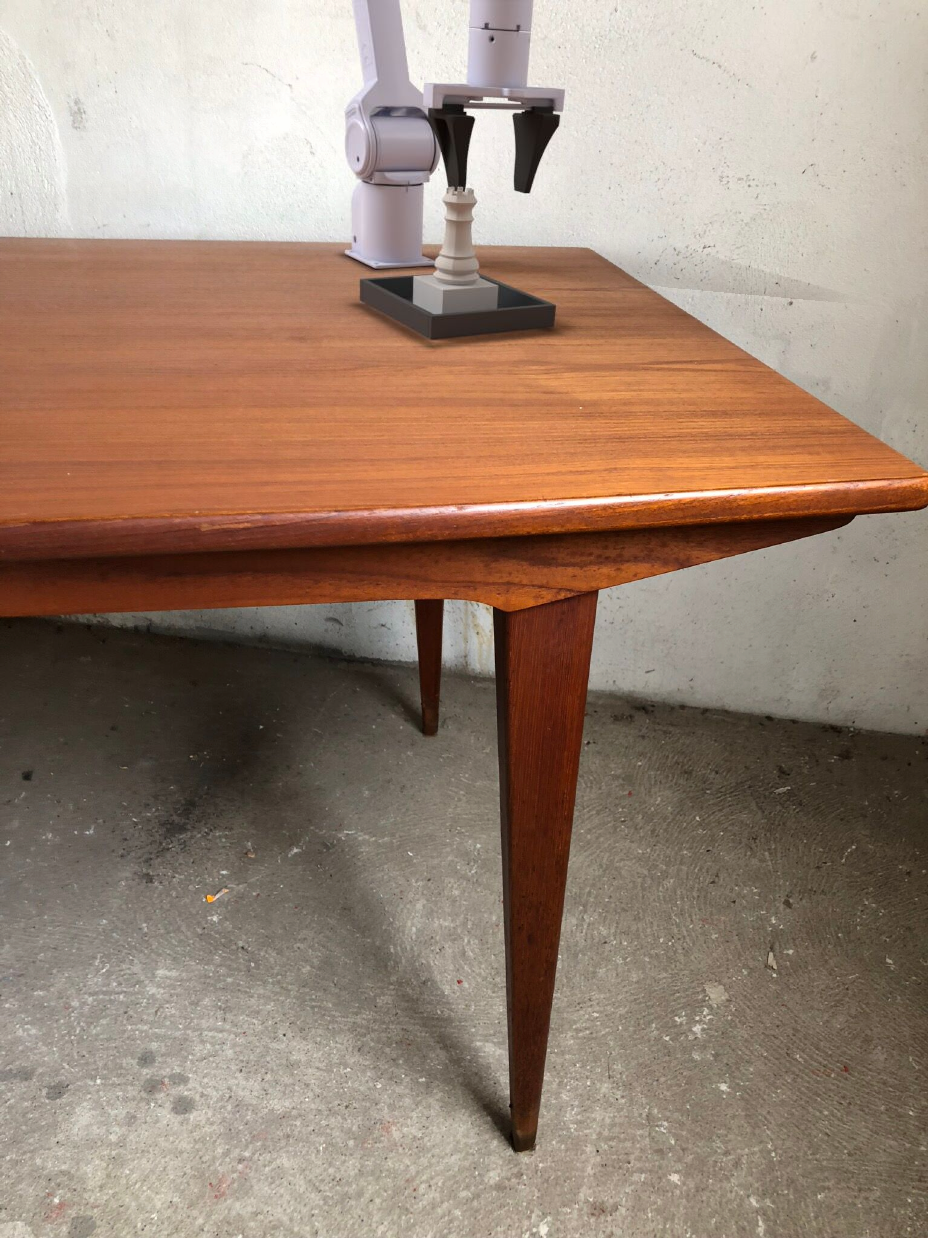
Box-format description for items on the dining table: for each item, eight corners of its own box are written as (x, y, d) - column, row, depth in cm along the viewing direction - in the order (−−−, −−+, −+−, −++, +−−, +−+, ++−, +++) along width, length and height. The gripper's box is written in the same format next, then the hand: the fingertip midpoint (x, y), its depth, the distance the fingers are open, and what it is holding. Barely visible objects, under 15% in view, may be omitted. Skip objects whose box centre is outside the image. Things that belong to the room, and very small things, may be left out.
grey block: (412, 307, 89) (413, 275, 88) (465, 303, 92) (467, 272, 90) (441, 322, 85) (443, 289, 83) (496, 317, 87) (498, 285, 86)
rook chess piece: (474, 287, 84) (479, 193, 80) (427, 282, 85) (430, 189, 81) (483, 277, 88) (488, 187, 84) (438, 273, 89) (441, 183, 85)
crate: (359, 305, 91) (359, 278, 90) (472, 296, 97) (474, 270, 96) (430, 346, 80) (431, 316, 79) (553, 332, 86) (556, 304, 85)
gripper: (451, 26, 77) (444, 200, 85) (589, 36, 84) (572, 197, 91) (414, 25, 82) (411, 189, 90) (547, 34, 89) (534, 186, 96)
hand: (489, 192), depth 91 cm, fingers open, 7 cm apart
